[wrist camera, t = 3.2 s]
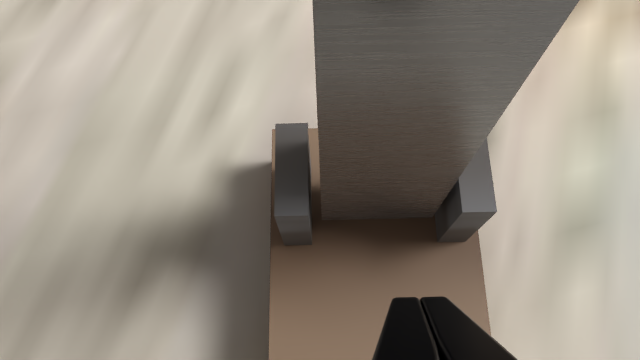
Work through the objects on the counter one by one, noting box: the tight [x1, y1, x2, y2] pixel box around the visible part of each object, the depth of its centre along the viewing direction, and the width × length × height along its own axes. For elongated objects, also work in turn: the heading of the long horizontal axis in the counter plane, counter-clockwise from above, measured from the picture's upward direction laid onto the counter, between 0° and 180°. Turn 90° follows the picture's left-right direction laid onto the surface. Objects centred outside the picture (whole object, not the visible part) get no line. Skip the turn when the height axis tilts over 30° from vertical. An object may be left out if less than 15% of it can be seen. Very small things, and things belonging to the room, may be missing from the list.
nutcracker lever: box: [313, 0, 579, 220], centre depth 9 cm, size 3×3×12 cm
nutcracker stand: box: [269, 123, 497, 360], centre depth 15 cm, size 8×6×6 cm
